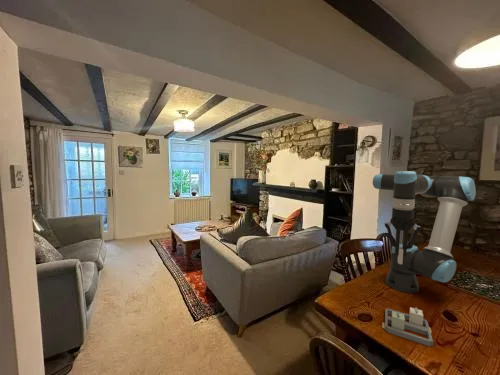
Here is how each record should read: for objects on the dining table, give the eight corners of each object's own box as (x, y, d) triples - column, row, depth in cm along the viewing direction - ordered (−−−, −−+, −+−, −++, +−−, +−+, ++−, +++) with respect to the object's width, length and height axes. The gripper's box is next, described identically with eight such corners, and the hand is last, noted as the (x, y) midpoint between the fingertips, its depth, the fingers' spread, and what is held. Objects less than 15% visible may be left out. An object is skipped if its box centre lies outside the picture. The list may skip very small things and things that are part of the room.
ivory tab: (408, 320, 93) (410, 305, 93) (420, 324, 91) (422, 308, 90) (409, 326, 90) (410, 310, 89) (422, 330, 88) (423, 314, 87)
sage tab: (391, 324, 90) (392, 309, 90) (403, 328, 88) (404, 312, 88) (391, 330, 87) (392, 314, 86) (403, 335, 85) (405, 318, 84)
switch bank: (381, 313, 100) (382, 306, 99) (430, 327, 91) (430, 320, 91) (381, 333, 88) (381, 325, 87) (436, 352, 79) (437, 344, 78)
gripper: (385, 208, 92) (382, 263, 95) (424, 211, 86) (420, 269, 88) (384, 205, 99) (381, 256, 101) (420, 208, 93) (417, 262, 95)
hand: (399, 262), depth 95 cm, fingers closed
